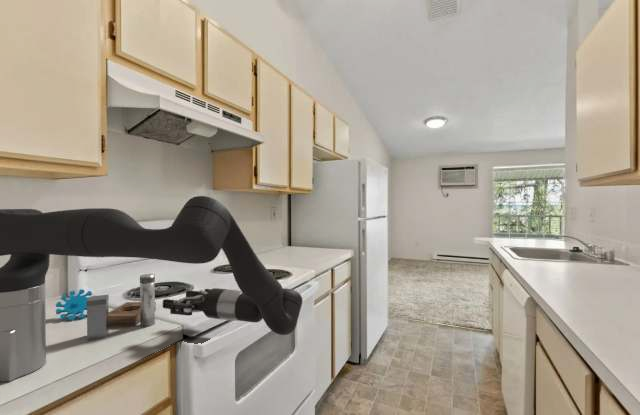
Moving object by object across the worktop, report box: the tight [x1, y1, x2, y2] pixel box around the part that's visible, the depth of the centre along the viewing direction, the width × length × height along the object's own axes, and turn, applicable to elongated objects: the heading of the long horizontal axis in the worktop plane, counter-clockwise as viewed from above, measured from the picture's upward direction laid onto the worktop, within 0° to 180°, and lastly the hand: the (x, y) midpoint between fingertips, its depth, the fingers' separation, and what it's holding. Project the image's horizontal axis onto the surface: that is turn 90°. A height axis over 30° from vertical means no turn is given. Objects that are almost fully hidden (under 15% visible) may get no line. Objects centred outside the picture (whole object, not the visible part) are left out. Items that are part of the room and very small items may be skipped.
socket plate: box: [109, 301, 157, 328], centre depth 92 cm, size 12×9×3 cm
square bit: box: [86, 294, 110, 341], centre depth 80 cm, size 4×4×10 cm
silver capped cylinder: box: [139, 273, 156, 328], centre depth 87 cm, size 4×4×14 cm
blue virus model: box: [55, 288, 93, 322], centre depth 95 cm, size 11×6×10 cm
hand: (175, 298), depth 84 cm, fingers open, 8 cm apart
